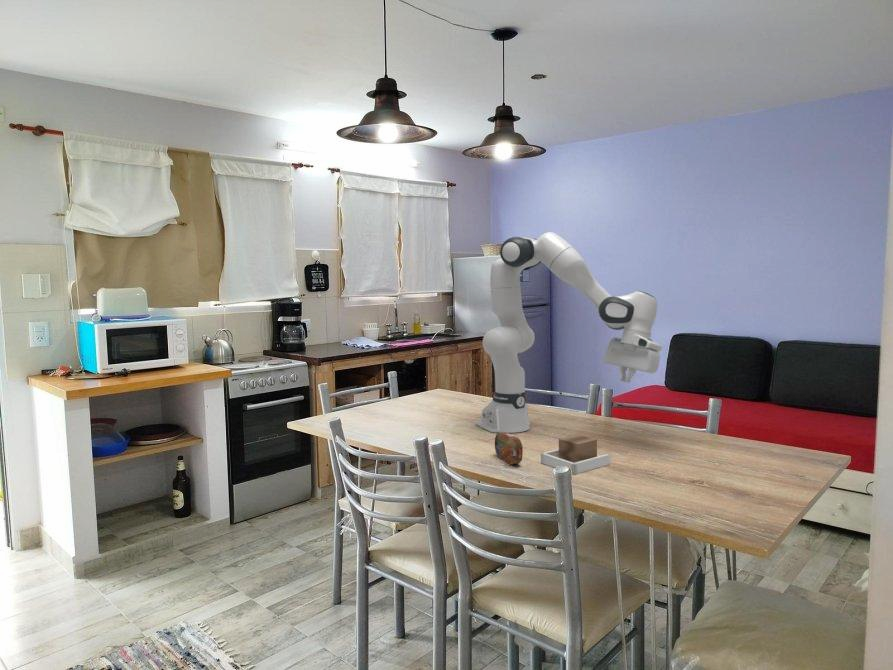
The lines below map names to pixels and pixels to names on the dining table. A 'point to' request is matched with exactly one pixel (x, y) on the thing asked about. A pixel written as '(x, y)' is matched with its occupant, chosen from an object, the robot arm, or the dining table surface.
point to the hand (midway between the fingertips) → (624, 381)
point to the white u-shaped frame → (553, 460)
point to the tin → (508, 448)
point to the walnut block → (577, 448)
